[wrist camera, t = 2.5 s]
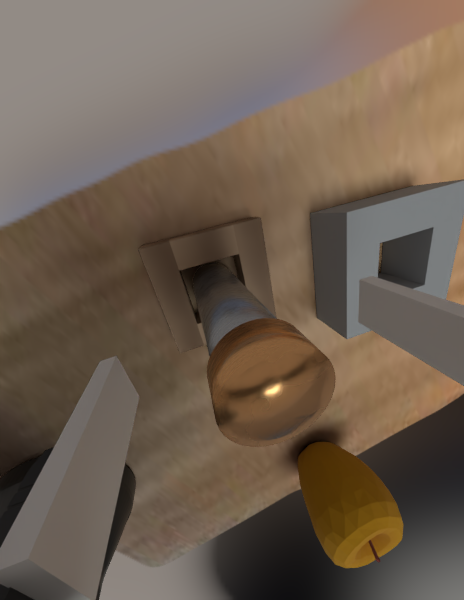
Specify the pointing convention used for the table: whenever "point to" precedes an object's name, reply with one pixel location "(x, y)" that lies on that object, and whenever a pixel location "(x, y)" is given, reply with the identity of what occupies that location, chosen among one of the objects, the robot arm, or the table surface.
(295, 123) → the table surface
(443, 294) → the socket
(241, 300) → the pin
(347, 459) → the apple
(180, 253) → the mount
